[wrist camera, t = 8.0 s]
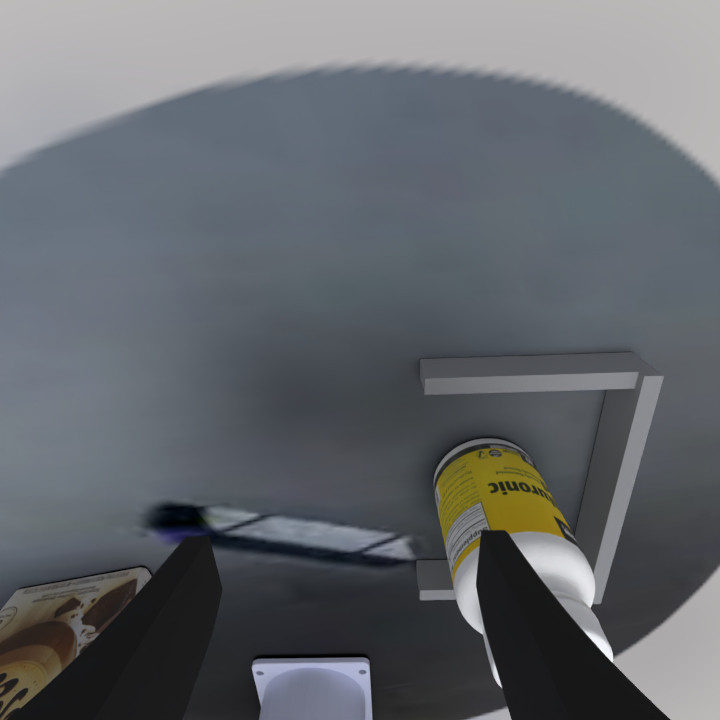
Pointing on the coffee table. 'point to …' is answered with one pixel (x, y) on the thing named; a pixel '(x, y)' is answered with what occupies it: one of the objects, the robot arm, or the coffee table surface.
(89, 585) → the coffee box
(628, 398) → the rail
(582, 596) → the supplement bottle
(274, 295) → the coffee table surface
